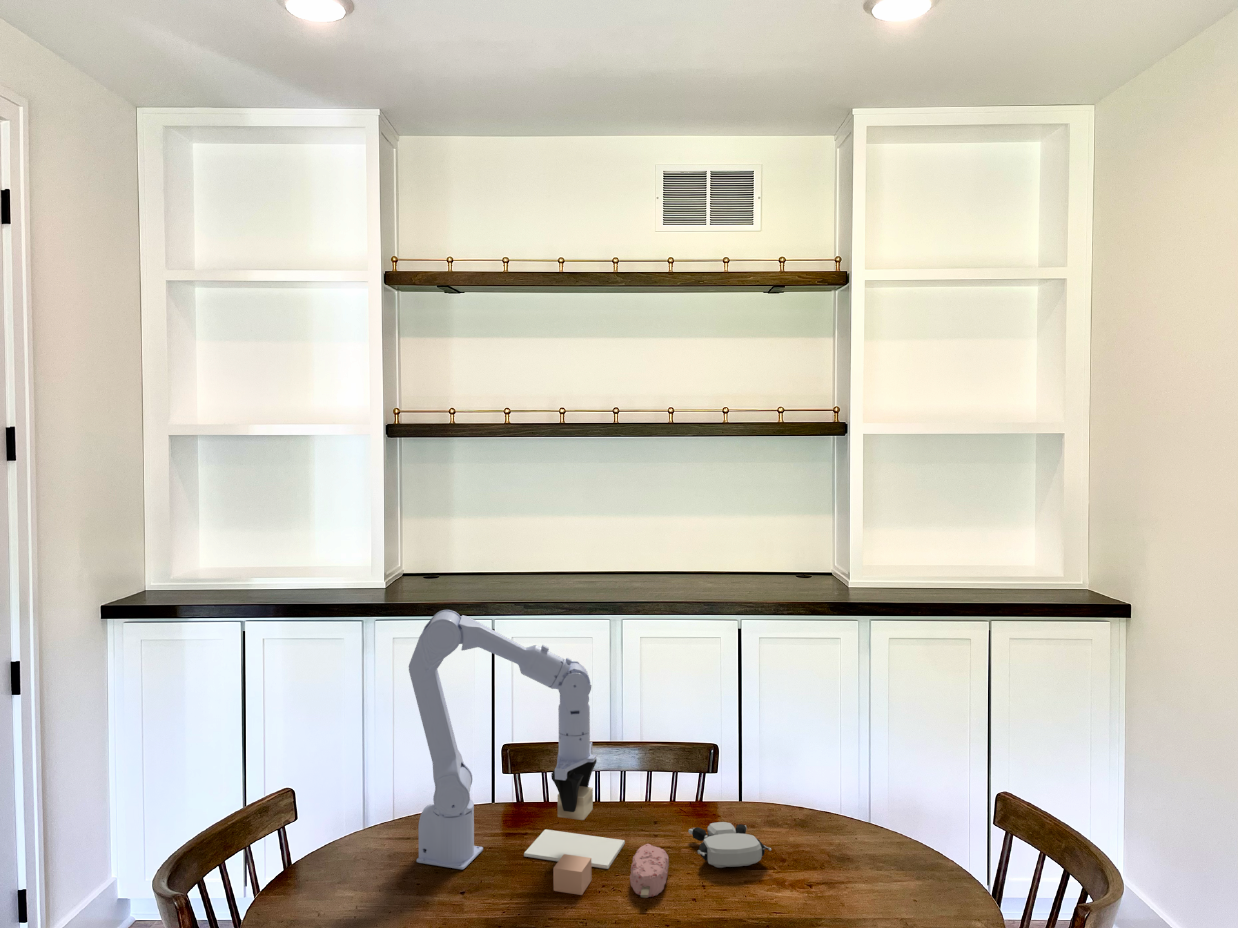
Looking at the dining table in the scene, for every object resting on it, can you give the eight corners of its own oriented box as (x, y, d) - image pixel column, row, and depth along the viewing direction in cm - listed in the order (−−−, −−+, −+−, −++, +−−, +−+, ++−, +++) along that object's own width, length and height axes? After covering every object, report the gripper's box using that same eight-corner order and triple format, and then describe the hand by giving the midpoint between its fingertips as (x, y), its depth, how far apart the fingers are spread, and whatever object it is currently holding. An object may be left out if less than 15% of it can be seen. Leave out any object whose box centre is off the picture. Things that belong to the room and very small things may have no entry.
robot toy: (684, 844, 161) (704, 878, 146) (684, 819, 161) (703, 851, 146) (747, 839, 163) (773, 872, 148) (747, 815, 163) (772, 846, 148)
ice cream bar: (624, 883, 137) (635, 839, 152) (625, 908, 138) (636, 862, 152) (663, 884, 137) (670, 840, 151) (664, 910, 137) (671, 864, 151)
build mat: (524, 856, 154) (524, 852, 154) (545, 832, 164) (545, 829, 164) (608, 868, 150) (608, 865, 150) (624, 843, 159) (624, 840, 159)
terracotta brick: (553, 891, 142) (553, 867, 142) (564, 876, 147) (563, 853, 147) (581, 895, 141) (581, 871, 141) (591, 880, 146) (591, 857, 146)
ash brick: (557, 816, 155) (557, 794, 155) (567, 805, 160) (567, 784, 159) (583, 820, 153) (583, 797, 153) (592, 808, 158) (592, 787, 158)
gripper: (581, 746, 148) (581, 823, 148) (607, 720, 162) (607, 791, 162) (543, 742, 150) (544, 818, 150) (572, 717, 164) (572, 787, 164)
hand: (574, 804), depth 156 cm, fingers closed on ash brick, 5 cm apart
